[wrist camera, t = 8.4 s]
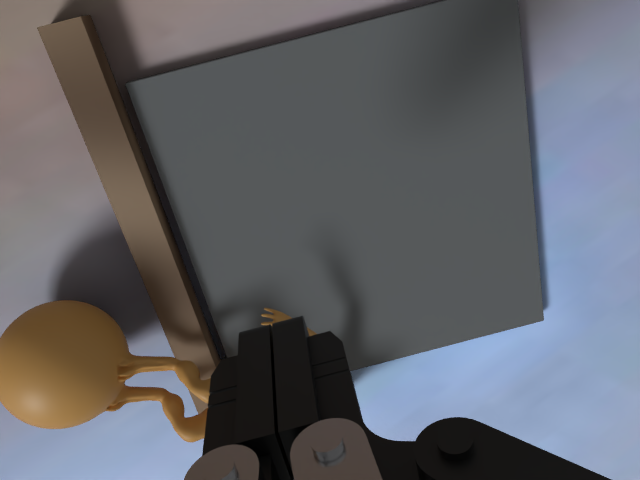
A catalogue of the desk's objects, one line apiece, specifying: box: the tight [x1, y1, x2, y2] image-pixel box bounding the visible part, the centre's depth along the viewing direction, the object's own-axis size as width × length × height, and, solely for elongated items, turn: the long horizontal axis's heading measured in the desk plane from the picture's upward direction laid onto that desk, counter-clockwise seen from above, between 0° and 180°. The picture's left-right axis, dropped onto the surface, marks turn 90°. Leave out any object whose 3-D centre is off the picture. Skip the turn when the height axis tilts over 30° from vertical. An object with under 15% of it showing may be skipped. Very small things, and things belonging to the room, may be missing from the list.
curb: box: [37, 15, 221, 414], centre depth 19 cm, size 16×1×1 cm, turn 13°
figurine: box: [0, 300, 317, 442], centre depth 19 cm, size 8×6×12 cm
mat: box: [125, 0, 544, 371], centre depth 19 cm, size 12×12×1 cm
